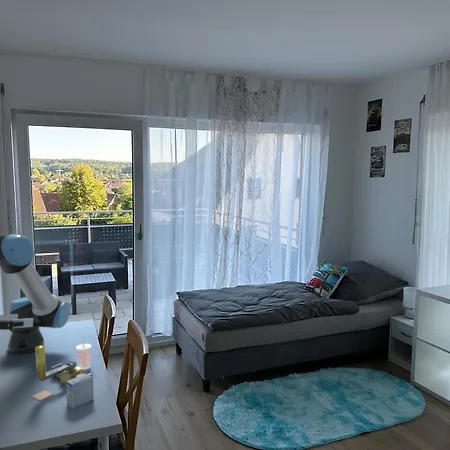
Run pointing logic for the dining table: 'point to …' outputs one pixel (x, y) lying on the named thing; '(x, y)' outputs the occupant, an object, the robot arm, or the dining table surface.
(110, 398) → the dining table surface
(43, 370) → the lever
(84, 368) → the beverage cup
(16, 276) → the robot arm
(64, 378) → the valve
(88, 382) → the medicine box
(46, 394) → the closed pad
